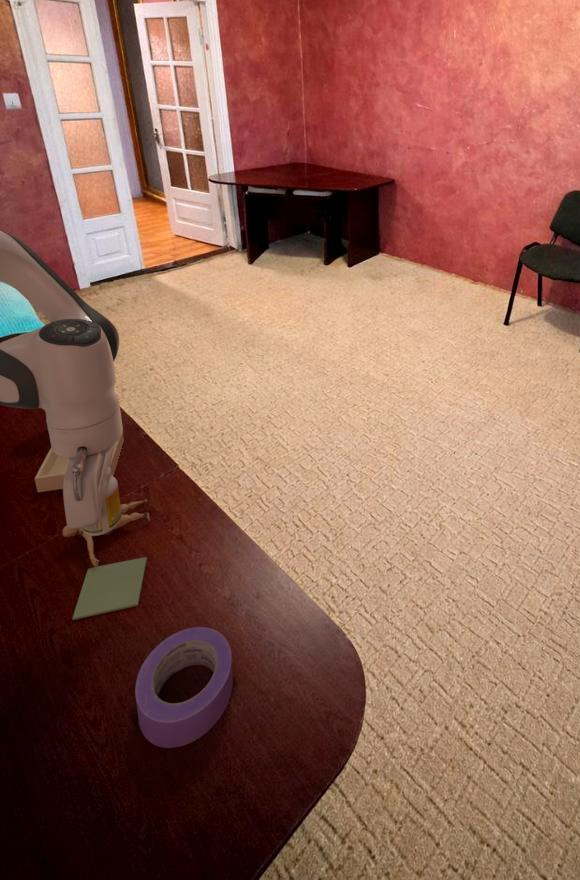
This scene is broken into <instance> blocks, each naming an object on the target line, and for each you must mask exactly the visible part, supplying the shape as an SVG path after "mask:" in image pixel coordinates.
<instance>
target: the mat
mask: <svg viewBox="0 0 580 880" xmlns="http://www.w3.org/2000/svg"><path fill="white" fill-rule="evenodd" d="M147 560H148V557H147V556H144V557H139V558H133V559H130V560H123V561H119V562H114V563H113V562H112V563H108V564H103V565H98V566H96V567H95V566H93V567H88V568H87V571H86V574H85V578H84V580H83V585H82V587H81V590H80V593H79V596H78V599H77V603H76V606H75V609H74V612H73V614H72V621H77V620H80V619H85V618H89V617H94V616H98V615H103V614H106V613H107V614H108V613H111V612H112V613H113V612H116V611H120V610H125V609H129V608H133V607H138V606H139V604H140V603H139V602H140V599H141V598H140V597H141V593H142V592H141V591H142V586H143V583H144V576H145V571H146V567H147V562H148V561H147Z"/></svg>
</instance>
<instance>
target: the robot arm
mask: <svg viewBox="0 0 580 880" xmlns="http://www.w3.org/2000/svg"><path fill="white" fill-rule="evenodd" d="M0 283H3V284H5V285H8V286H10V287H11V288H13V289H15V290H16V291H17V292H18V293H19V294H21V296H23V298H25V299H26V300H27V301H28V302H29V303H30V304H31V305H32V306H33V307H34V308H35V309H36V310H37V311H38V312H39V313H40V314H41V315H42V316H43V317H44V318H45V319H47V321H48V322H49V323H47V324H44V325H43V326H41V327H39V328H36V329H34V330H31V331H28V332H24V333H22V334H19V335H16V336H14V337H11V338H9V339H6V340H3V341H2V342H0V406H5V407H10V408H17V409H22V410H37V409H42V410H43V411H44V413H45V412H46V414H45V417H46V419H45V421H46V426H47V431H48V432H47V433H48V435H49V436H48V437H49V441H50V448H51V447H52V450H53V452H54V453H55V454H57V455H59V456H61V457H65V458H66V459H68V460H69V464H68V467H67V470H66V473H65V477H64V482H63V489H62V497H63V505H64V514H65V521H66V526H67V525H68V527H69V528H71V529H77V528H82V527H87V526H91V525H95V524H99V523H101V522H102V518H103V510H102V506H103V501H104V496H105V490H106V485H107V479H108V476H107V474H108V468H109V467H110V464H111V459H112V454H113V449H114V444H115V442H117V441H118V440H119V438H120V437H121V435H122V433H123V434H124V427H123V421H122V420H123V419H122V412H121V405H120V400H119V399H120V398H119V394H117V393H116V392H115V386H116V381H117V377H116V368H115V363H114V362H115V361H116V358H117V356H118V352H119V350H120V349H119V348H120V335H119V332H118V329H117V328H116V326H115V325H114V324H113V323H112V321H111V320H109V318H107V317H106V316H105V315H103V314H102V313H100V311H98V310H96V309H95V308H93V307H92V306H91V305H89V304H88V303H87V302H86V301H85V300H84V299H83V298H82V297H81V296H80V295H79V294H77V292H75V291H74V290H73V288H72V287H70V285H68V283H66V281H64V279H62V278H61V277H60V275H59V274H57V273H56V271H55V270H54V269H52V268H51V266H50V265H48V263H46V261H45V260H43V259H42V258H41V257H40V255H38V254H37V253H36V251H35V250H33V249H32V248H30V246H29V245H27V244H26V243H25V242H24V241H23V240H22V239H20V238H19V237H17V236H16V235H14V234H11V233H8V232H5V231H2V230H0Z"/></svg>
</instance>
